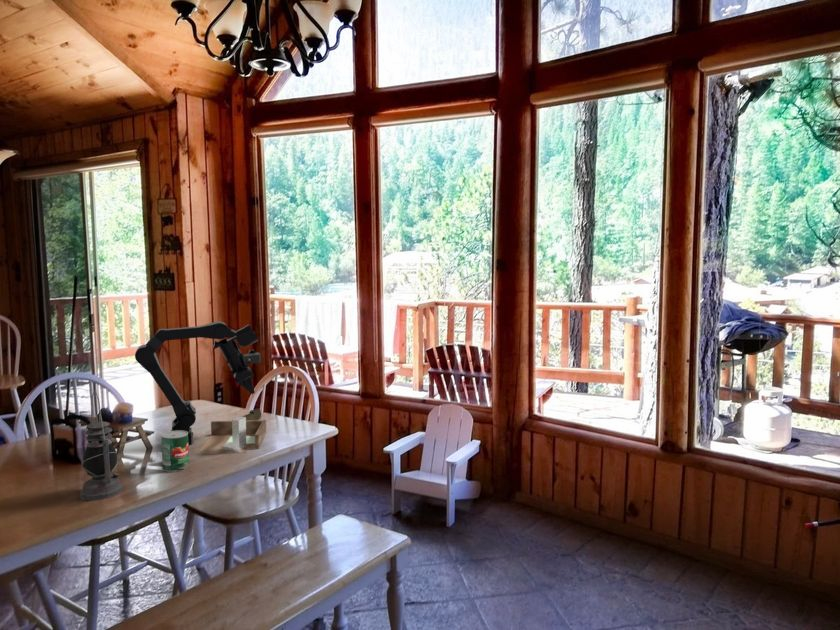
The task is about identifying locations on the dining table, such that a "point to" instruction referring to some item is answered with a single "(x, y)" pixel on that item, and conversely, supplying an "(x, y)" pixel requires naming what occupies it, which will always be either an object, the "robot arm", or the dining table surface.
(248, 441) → the pad
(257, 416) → the hand tool
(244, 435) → the bracket
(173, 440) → the canned tomato
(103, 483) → the lantern
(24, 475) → the dining table surface
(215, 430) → the box
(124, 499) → the dining table surface
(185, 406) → the robot arm
